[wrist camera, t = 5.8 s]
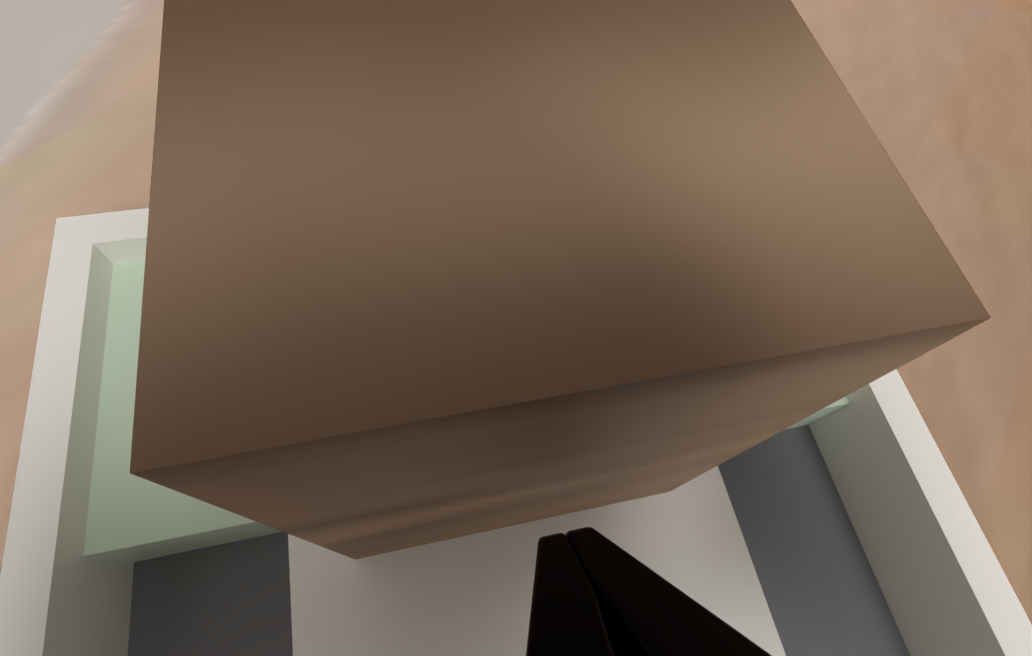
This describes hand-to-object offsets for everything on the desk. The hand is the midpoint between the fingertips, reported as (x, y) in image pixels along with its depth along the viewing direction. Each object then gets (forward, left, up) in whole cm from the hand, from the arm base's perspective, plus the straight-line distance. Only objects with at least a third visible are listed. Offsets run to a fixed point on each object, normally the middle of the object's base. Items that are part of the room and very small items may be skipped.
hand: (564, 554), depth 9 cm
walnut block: (+5, +2, -5) cm, 7 cm away
